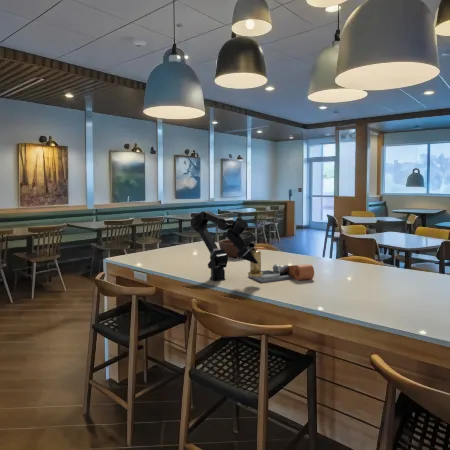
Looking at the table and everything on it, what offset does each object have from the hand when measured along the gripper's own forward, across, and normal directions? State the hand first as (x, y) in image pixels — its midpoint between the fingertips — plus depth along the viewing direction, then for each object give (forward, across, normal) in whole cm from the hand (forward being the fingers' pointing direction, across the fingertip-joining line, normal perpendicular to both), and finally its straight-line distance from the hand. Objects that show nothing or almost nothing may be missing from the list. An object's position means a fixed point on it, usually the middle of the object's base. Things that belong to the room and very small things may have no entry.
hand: (258, 262), depth 189 cm
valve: (+4, 0, +6) cm, 7 cm away
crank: (+20, +24, -3) cm, 31 cm away
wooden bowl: (-13, +75, +30) cm, 82 cm away
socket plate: (+11, +17, +6) cm, 21 cm away
